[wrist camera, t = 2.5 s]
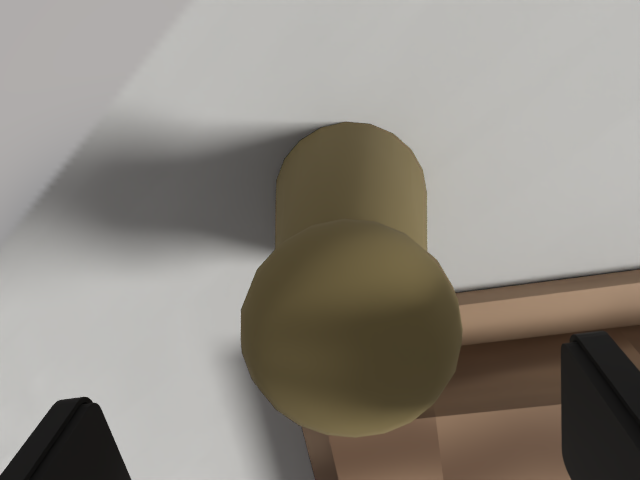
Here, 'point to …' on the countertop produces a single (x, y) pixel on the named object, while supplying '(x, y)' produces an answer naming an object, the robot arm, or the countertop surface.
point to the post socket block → (496, 388)
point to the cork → (351, 289)
